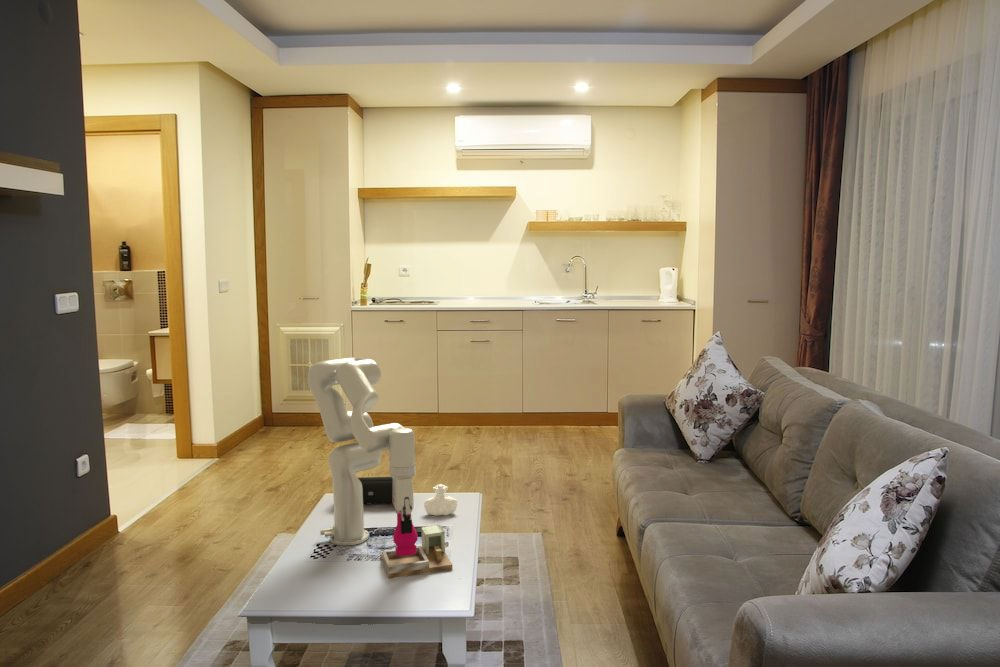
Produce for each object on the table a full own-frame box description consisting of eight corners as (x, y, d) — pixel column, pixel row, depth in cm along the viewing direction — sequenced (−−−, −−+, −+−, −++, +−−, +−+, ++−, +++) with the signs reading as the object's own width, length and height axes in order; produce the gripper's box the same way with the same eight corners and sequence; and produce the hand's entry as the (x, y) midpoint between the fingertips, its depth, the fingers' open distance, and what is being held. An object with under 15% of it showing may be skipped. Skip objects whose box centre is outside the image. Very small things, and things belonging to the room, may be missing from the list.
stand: (388, 578, 207) (388, 564, 206) (380, 556, 222) (380, 543, 221) (452, 569, 212) (452, 554, 212) (440, 548, 227) (439, 535, 227)
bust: (457, 518, 260) (456, 488, 266) (457, 511, 253) (456, 481, 259) (424, 519, 259) (424, 489, 265) (423, 512, 252) (423, 482, 258)
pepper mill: (398, 557, 207) (394, 488, 208) (390, 552, 214) (387, 485, 215) (421, 553, 210) (418, 485, 211) (413, 548, 217) (410, 482, 218)
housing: (425, 554, 219) (425, 534, 219) (421, 546, 225) (421, 527, 224) (444, 551, 221) (444, 531, 220) (440, 544, 227) (440, 524, 226)
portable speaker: (336, 508, 265) (335, 482, 264) (341, 499, 275) (340, 474, 274) (405, 507, 266) (404, 481, 265) (407, 498, 276) (407, 472, 275)
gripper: (385, 463, 218) (387, 521, 220) (395, 480, 201) (397, 541, 203) (409, 461, 220) (411, 518, 222) (421, 477, 204) (423, 538, 206)
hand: (404, 528), depth 213 cm, fingers closed on pepper mill, 5 cm apart
